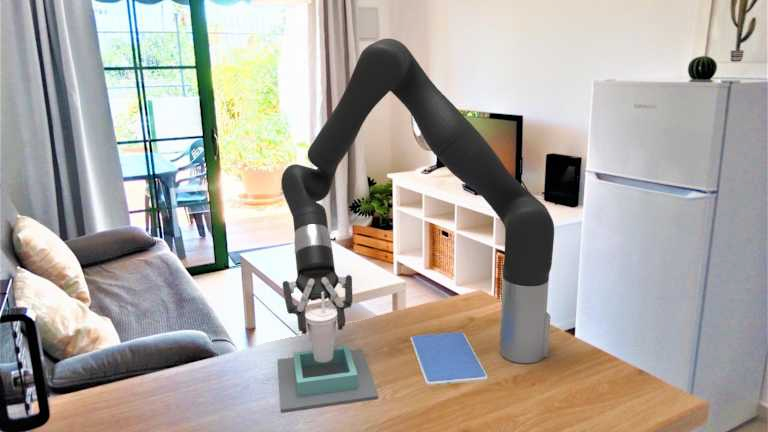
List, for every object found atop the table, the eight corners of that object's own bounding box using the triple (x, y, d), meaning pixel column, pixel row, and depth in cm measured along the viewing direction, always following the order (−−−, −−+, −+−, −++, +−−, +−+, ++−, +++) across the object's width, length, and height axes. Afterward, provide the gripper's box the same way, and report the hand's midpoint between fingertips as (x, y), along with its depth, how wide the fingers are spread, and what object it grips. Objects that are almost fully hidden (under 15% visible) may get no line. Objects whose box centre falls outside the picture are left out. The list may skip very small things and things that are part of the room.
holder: (361, 351, 124) (361, 336, 123) (378, 398, 108) (378, 381, 107) (277, 361, 121) (276, 346, 120) (281, 412, 104) (279, 395, 103)
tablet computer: (489, 382, 113) (489, 376, 112) (426, 388, 111) (426, 382, 111) (463, 336, 131) (463, 330, 131) (409, 340, 130) (409, 335, 129)
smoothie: (334, 367, 109) (331, 300, 105) (302, 364, 111) (298, 298, 107) (343, 350, 115) (340, 286, 111) (313, 348, 117) (309, 284, 113)
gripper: (277, 246, 112) (284, 328, 105) (350, 240, 115) (362, 320, 108) (278, 262, 119) (284, 340, 111) (347, 256, 122) (358, 332, 114)
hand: (322, 330), depth 110 cm, fingers closed on smoothie, 6 cm apart
